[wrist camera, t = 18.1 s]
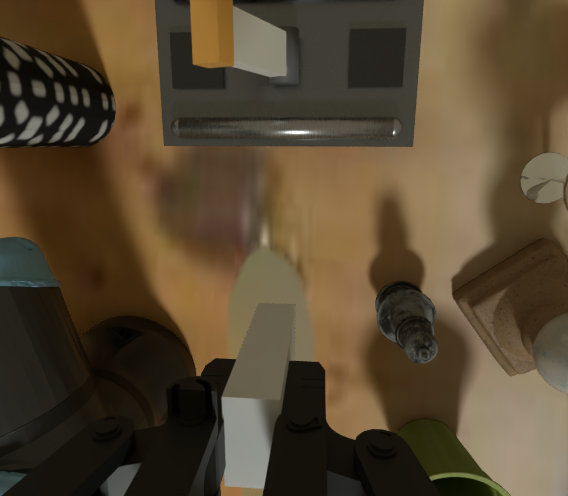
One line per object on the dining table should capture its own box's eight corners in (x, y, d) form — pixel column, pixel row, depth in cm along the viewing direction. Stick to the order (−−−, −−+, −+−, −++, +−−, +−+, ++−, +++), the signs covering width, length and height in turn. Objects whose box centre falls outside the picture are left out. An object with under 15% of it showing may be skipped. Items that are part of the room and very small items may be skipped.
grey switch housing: (184, 145, 44) (156, 145, 36) (177, -5, 41) (144, -39, 33) (400, 146, 42) (417, 146, 35) (410, -11, 39) (432, -48, 31)
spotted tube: (46, 148, 45) (-158, 152, 26) (32, 65, 43) (-201, 2, 24) (120, 144, 45) (-34, 146, 25) (109, 60, 43) (-67, -10, 23)
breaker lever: (278, 86, 36) (190, 64, 26) (278, 34, 35) (187, -7, 25) (303, 84, 35) (221, 61, 25) (304, 31, 34) (219, -14, 24)
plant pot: (434, 501, 52) (464, 597, 41) (355, 451, 51) (363, 535, 40) (499, 435, 49) (550, 519, 38) (416, 380, 48) (443, 450, 37)
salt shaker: (439, 298, 46) (479, 351, 34) (404, 339, 47) (431, 403, 35) (395, 268, 45) (420, 311, 34) (361, 309, 47) (375, 364, 35)
